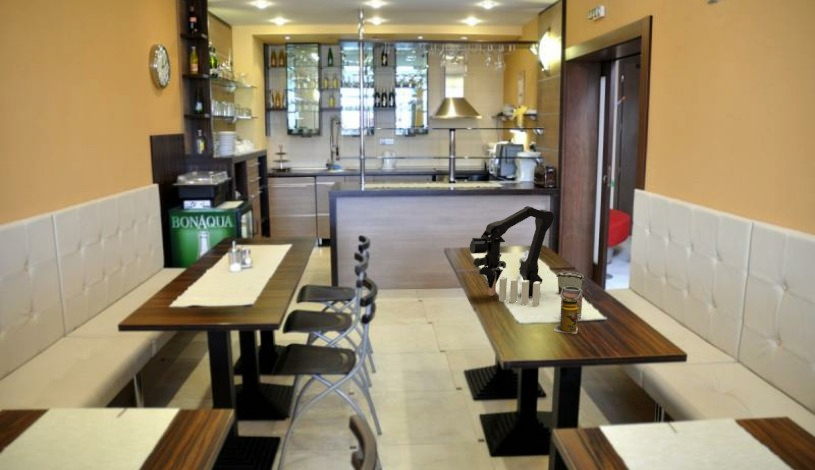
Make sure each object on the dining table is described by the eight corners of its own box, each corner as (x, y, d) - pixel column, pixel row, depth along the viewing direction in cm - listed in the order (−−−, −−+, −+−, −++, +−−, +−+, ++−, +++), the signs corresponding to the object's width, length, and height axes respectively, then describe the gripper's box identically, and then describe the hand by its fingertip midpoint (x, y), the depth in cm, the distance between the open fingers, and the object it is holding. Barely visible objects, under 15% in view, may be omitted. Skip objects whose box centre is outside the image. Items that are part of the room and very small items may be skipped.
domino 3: (517, 301, 272) (518, 279, 270) (514, 303, 268) (515, 281, 266) (512, 300, 272) (513, 278, 271) (509, 302, 269) (510, 280, 267)
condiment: (576, 334, 230) (578, 303, 228) (553, 331, 232) (555, 300, 230) (577, 328, 237) (579, 297, 234) (555, 325, 239) (556, 295, 237)
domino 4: (528, 302, 269) (529, 280, 267) (525, 304, 266) (526, 282, 264) (523, 302, 270) (524, 279, 268) (520, 304, 267) (521, 281, 265)
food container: (585, 294, 284) (586, 272, 282) (582, 297, 278) (584, 275, 276) (558, 290, 289) (559, 270, 287) (555, 294, 283) (556, 272, 281)
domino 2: (506, 299, 274) (507, 277, 272) (503, 301, 270) (504, 279, 268) (501, 298, 275) (502, 277, 273) (498, 301, 271) (499, 279, 269)
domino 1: (495, 293, 276) (496, 271, 274) (492, 295, 272) (493, 273, 270) (491, 292, 277) (492, 271, 275) (488, 295, 273) (488, 273, 271)
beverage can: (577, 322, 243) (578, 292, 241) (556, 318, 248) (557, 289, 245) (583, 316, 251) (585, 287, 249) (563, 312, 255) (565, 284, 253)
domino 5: (539, 304, 267) (540, 281, 265) (536, 306, 264) (537, 283, 262) (534, 303, 268) (535, 281, 266) (532, 305, 264) (533, 283, 263)
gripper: (483, 246, 283) (482, 279, 286) (468, 254, 266) (467, 289, 269) (507, 249, 278) (505, 282, 281) (493, 257, 261) (491, 292, 264)
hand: (492, 286), depth 274 cm, fingers closed on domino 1, 4 cm apart
